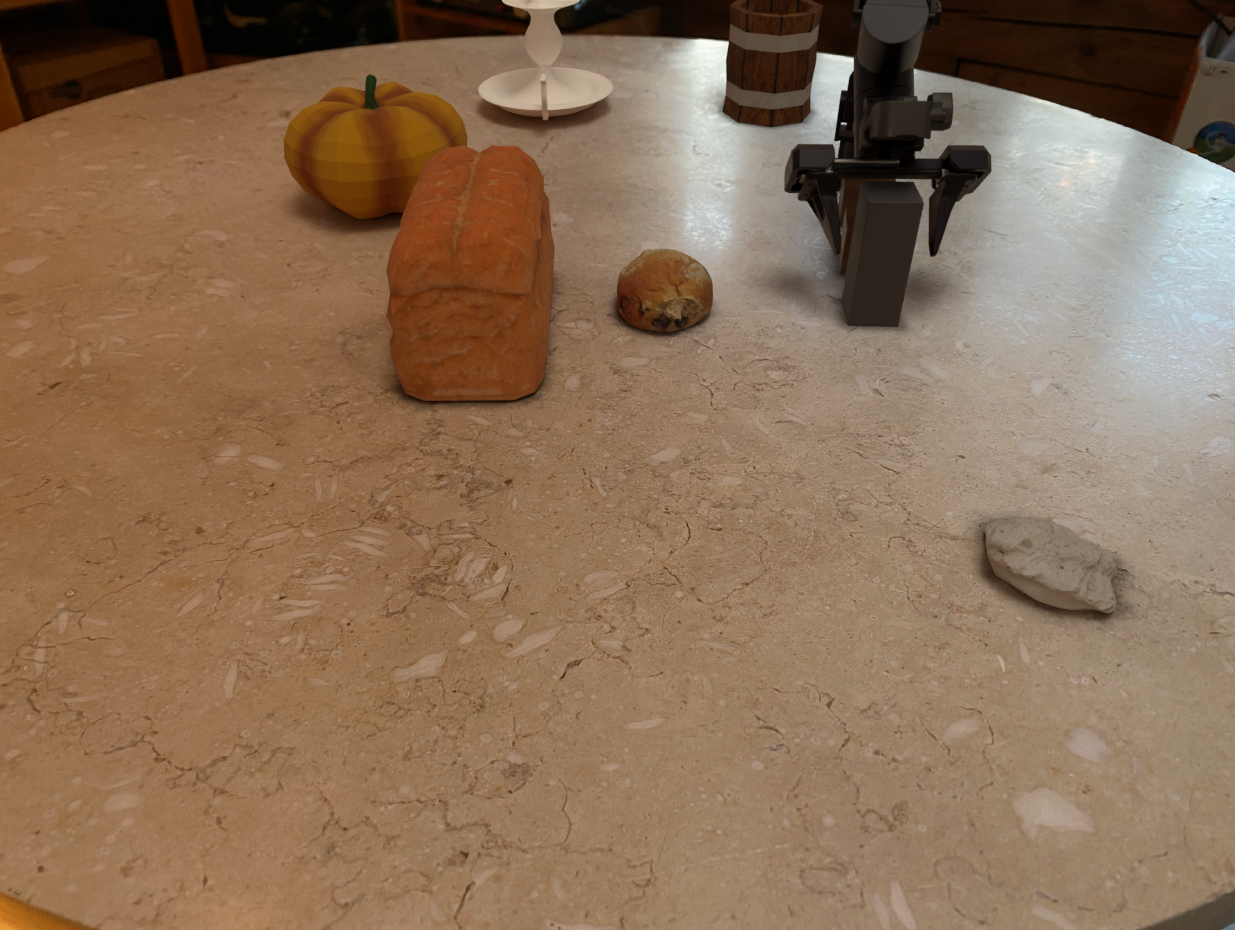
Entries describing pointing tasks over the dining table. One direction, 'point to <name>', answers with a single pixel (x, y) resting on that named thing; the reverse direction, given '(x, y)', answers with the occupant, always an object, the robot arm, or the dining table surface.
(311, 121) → the decorative pumpkin
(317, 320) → the dining table surface
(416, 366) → the bread
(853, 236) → the tall block
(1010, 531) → the stone
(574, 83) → the candlestick
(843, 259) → the block
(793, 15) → the mug
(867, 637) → the dining table surface
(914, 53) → the robot arm
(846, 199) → the block
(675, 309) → the bread roll
